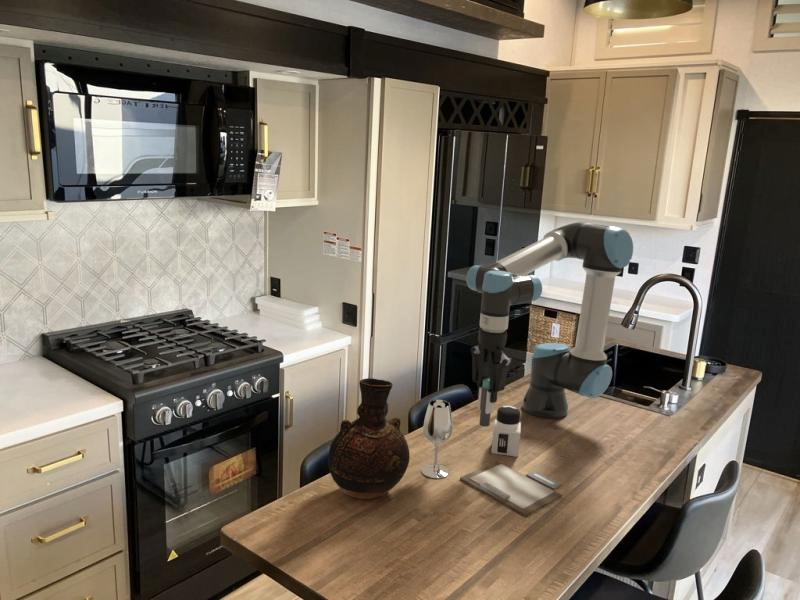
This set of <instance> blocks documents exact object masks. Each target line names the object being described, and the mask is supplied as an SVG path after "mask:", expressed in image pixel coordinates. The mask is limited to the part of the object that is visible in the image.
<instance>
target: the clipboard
mask: <svg viewBox="0 0 800 600" xmlns="http://www.w3.org/2000/svg"><path fill="white" fill-rule="evenodd" d="M459 480H460V481H462V482H464V483H466V484H467V485H468V486H470V487H472V488H474V489H475V490H478V491H479V492H481V493H482V494H484V495H486V496H488V497H490V498H491V499H493V500H495V501H497V502H499V503H500V504H502V505H504V506H505V507H507V508H509V509H510V510H512V511H514V512H515V513H517V514H519V515H521V516H523V517H525V518H527V517H528V516H530V515H532V514H534V513H536V512H538V511H539V510H541V509H543V508H544V507H546V506H548V505H551V504H552V503H553V502H556V501H557V500H559V499H561V498H563V494H561V493H559V492H557V491H555V490H553V489H551V488H549V487H547V486H545V485H543V484H542V483H540V482H538V481H536V480H534V479H532V478H530V477H528V476H526V475H524V474H523V473H520V472H518V471H517V470H515V469H513V468H511V467H509V466H507V465H505V464H503V463H501V462H500V461H495V462H492V463H490V464H488V465H485V466H483V467H481V468H478V469H476V470H474V471H471V472H469V473H468V474H465V475H463V476H460V477H459Z"/></svg>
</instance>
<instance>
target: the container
mask: <svg viewBox="0 0 800 600" xmlns="http://www.w3.org/2000/svg"><path fill="white" fill-rule="evenodd" d="M496 411H497V413H496V419H494V423H493V431H492V440H491V441H492V442H491V454H495V455H502V456H510V457H516V458H517V457H519V450H520V441H521V434H522V433H521V428H522V422H521V421H520V417H521V411H520V409H518V408H517V407H514V406H511V405H503V406H500V407H498V408H497V410H496Z"/></svg>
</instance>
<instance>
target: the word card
mask: <svg viewBox="0 0 800 600" xmlns="http://www.w3.org/2000/svg"><path fill="white" fill-rule="evenodd" d="M525 476H526V477H528V478H530V479H532V480H534V481H536V482H538V483H540V484H542V485H544V486H546V487H548V488H550V489H552V490H553V491H555V490H556V489H558V488H560V487H562V486H563V485H562V483H560V482H559V481H556V480H554V479H552V478H551V477H548V476H546V475H544V474H542V473H540V472H538V471H536V470H532V471H530V472H528V473H527V474H526V475H525Z"/></svg>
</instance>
